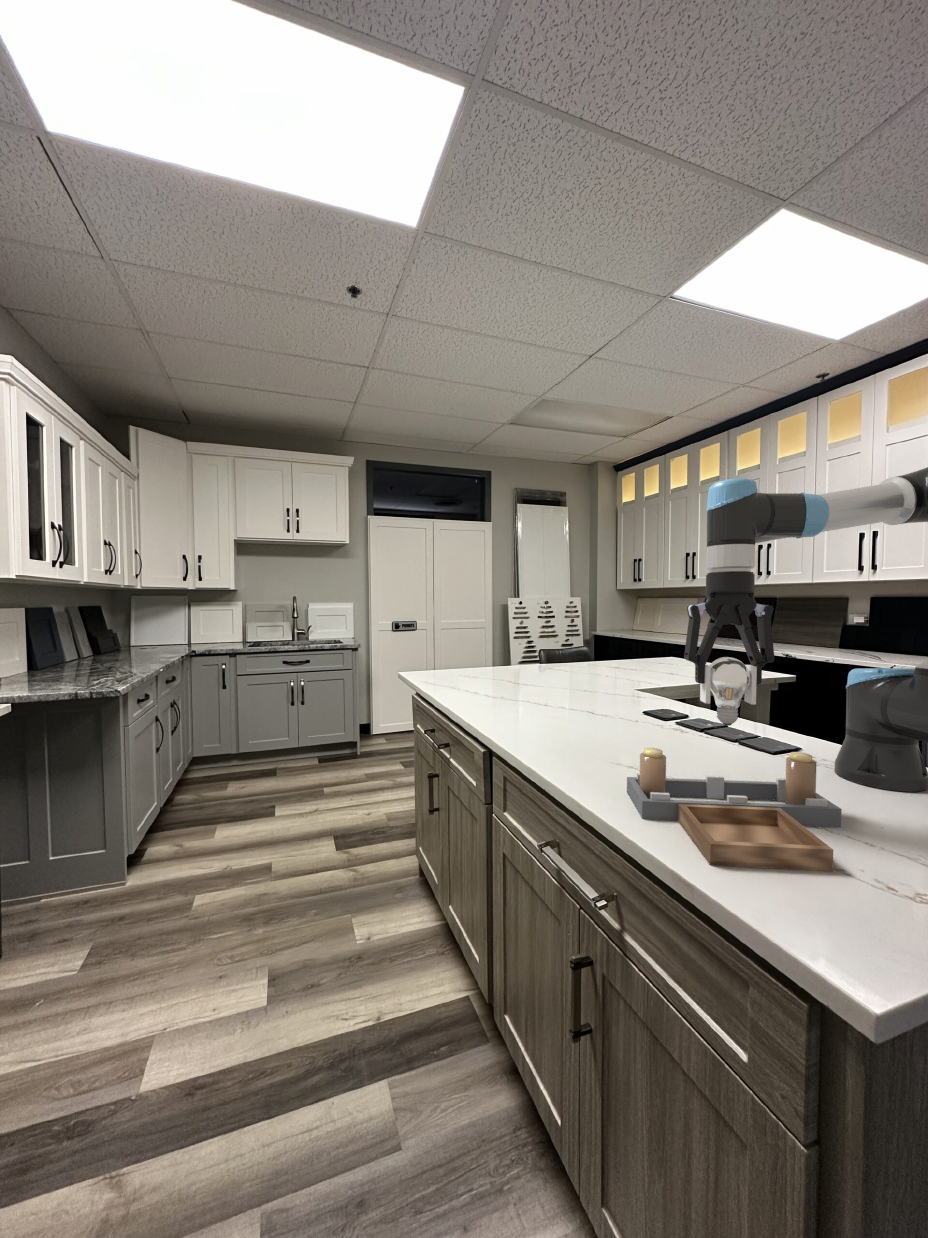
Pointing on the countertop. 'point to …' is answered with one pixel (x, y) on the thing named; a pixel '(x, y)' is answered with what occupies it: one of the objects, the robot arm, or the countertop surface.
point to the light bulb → (728, 687)
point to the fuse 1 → (652, 771)
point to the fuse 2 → (800, 778)
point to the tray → (753, 838)
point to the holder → (730, 799)
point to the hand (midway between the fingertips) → (727, 702)
